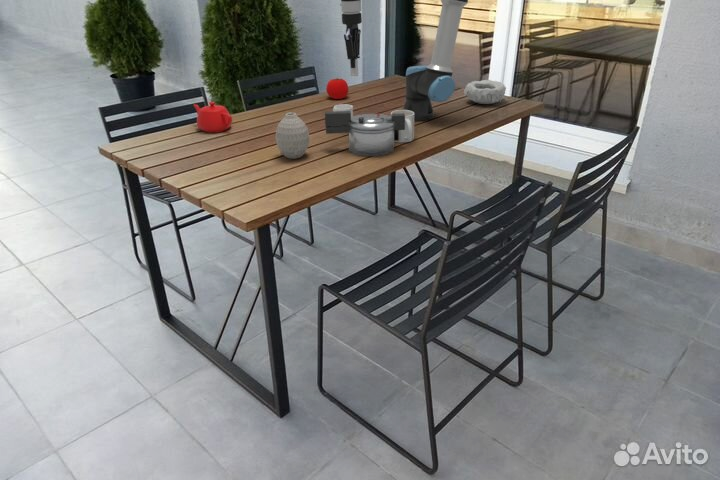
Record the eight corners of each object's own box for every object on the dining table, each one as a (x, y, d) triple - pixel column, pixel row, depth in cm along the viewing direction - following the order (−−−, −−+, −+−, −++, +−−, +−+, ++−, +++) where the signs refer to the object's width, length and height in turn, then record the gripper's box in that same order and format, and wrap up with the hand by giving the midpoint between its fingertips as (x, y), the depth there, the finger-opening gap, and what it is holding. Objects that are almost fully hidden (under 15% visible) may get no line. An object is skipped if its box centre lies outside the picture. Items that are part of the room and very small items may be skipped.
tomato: (348, 101, 285) (347, 80, 280) (326, 101, 286) (325, 81, 281) (349, 95, 296) (348, 75, 291) (327, 95, 296) (326, 76, 291)
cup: (342, 133, 237) (341, 110, 232) (326, 127, 245) (324, 104, 240) (357, 129, 241) (356, 106, 237) (340, 123, 250) (339, 101, 245)
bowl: (511, 101, 279) (513, 81, 274) (497, 110, 264) (499, 89, 259) (472, 96, 289) (474, 77, 284) (457, 105, 274) (458, 85, 269)
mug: (417, 136, 231) (418, 110, 226) (410, 145, 221) (411, 118, 216) (394, 134, 234) (394, 108, 229) (386, 143, 224) (386, 116, 219)
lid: (402, 115, 222) (402, 104, 220) (406, 129, 206) (407, 117, 204) (326, 117, 222) (325, 106, 220) (324, 131, 205) (324, 119, 203)
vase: (297, 164, 205) (293, 120, 197) (270, 158, 211) (266, 115, 203) (317, 153, 214) (314, 111, 206) (291, 148, 221) (287, 107, 213)
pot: (399, 139, 228) (400, 116, 223) (407, 154, 212) (408, 129, 207) (325, 143, 225) (324, 119, 221) (328, 158, 209) (326, 133, 204)
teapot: (246, 129, 245) (243, 102, 240) (219, 138, 235) (215, 110, 229) (210, 120, 259) (206, 94, 253) (183, 128, 248) (178, 101, 242)
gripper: (348, 10, 214) (351, 71, 225) (336, 15, 203) (340, 79, 215) (366, 10, 211) (368, 72, 223) (354, 14, 201) (357, 79, 212)
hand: (354, 75), depth 219 cm, fingers closed
